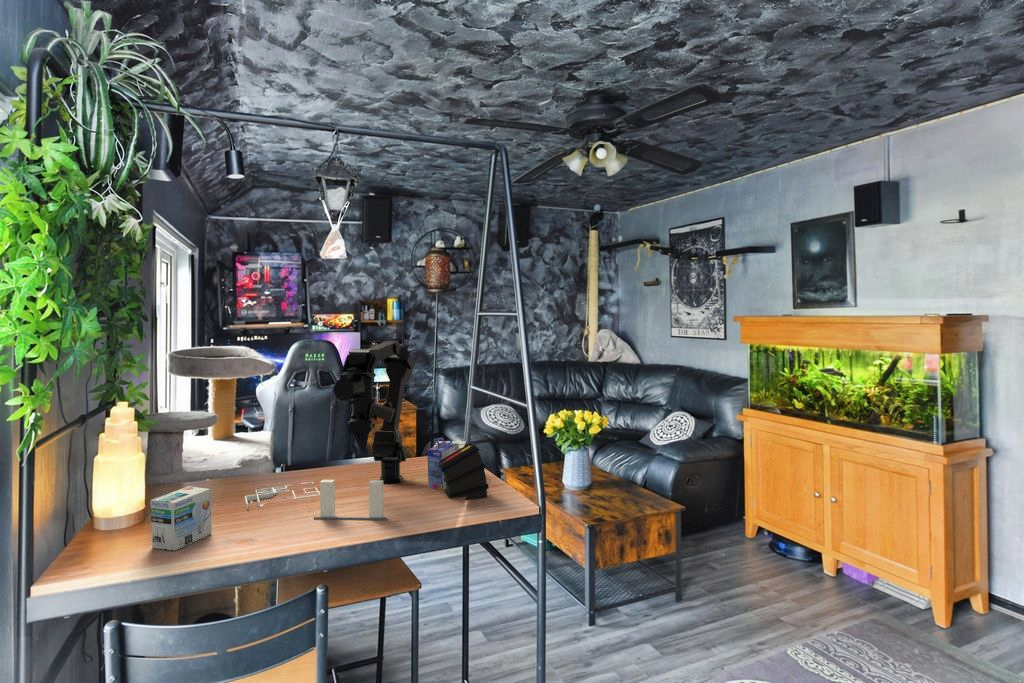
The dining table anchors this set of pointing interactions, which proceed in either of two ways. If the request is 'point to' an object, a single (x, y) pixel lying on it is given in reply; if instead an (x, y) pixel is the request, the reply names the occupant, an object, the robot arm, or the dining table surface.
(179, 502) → the light bulb box
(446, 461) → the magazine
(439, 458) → the ink cartridge box
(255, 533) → the dining table surface
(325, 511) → the cream tall block
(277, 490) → the floor plan model
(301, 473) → the dining table surface
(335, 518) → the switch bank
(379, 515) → the beige rectangular block
